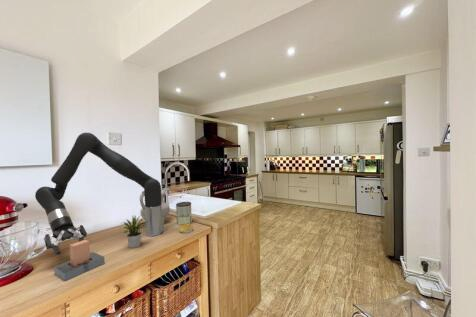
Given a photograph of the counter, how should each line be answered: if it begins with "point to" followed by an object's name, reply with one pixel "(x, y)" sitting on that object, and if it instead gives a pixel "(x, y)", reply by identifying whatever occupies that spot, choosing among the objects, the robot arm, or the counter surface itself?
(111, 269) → the counter surface
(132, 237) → the house plant
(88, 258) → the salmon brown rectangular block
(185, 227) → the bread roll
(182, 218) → the coffee can
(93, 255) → the grey socket block
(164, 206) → the ceramic pitcher
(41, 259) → the counter surface
